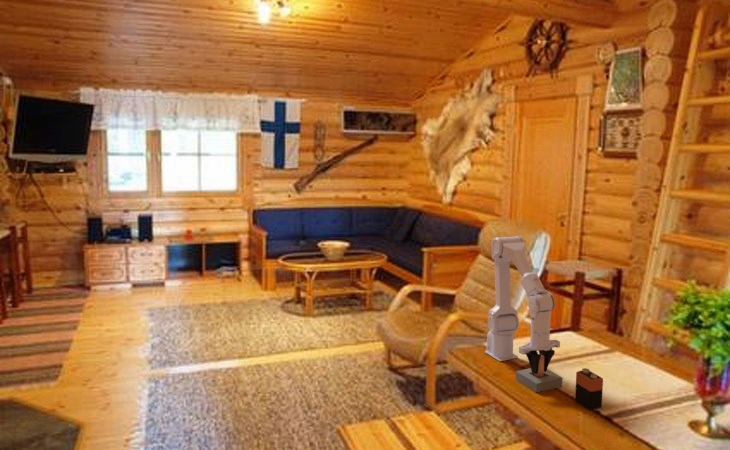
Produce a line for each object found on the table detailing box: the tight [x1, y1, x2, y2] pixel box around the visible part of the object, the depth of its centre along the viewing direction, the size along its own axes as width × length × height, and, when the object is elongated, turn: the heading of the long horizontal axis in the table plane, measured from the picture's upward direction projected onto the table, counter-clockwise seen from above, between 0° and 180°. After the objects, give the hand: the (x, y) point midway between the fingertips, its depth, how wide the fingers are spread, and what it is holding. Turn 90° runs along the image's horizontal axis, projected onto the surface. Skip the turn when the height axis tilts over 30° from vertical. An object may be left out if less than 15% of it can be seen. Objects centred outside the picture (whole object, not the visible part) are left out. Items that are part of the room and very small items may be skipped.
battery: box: [574, 367, 604, 411], centre depth 162 cm, size 4×7×10 cm, turn 17°
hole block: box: [515, 368, 563, 393], centre depth 177 cm, size 10×10×3 cm
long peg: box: [534, 355, 544, 378], centre depth 176 cm, size 3×3×7 cm
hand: (538, 371), depth 176 cm, fingers closed on long peg, 3 cm apart
